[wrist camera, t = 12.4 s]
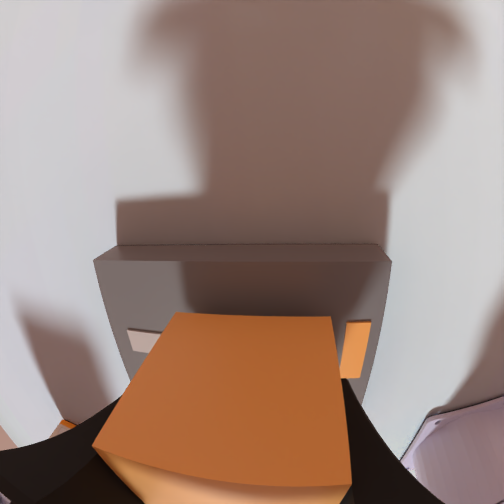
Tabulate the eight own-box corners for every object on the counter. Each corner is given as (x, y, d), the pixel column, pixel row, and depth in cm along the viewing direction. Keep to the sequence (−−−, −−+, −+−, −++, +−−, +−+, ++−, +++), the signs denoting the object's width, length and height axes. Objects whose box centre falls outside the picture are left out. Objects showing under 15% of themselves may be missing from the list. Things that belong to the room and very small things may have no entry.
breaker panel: (377, 244, 11) (396, 267, 9) (346, 415, 15) (350, 448, 13) (116, 245, 13) (85, 265, 11) (160, 403, 17) (146, 431, 14)
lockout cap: (330, 316, 9) (351, 484, 4) (317, 414, 11) (316, 535, 6) (176, 312, 10) (91, 445, 5) (198, 407, 12) (159, 516, 6)
